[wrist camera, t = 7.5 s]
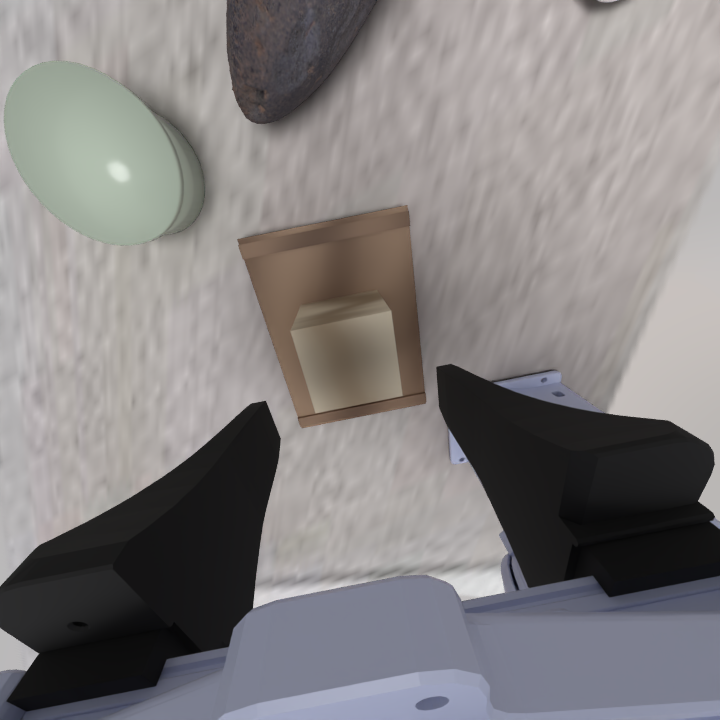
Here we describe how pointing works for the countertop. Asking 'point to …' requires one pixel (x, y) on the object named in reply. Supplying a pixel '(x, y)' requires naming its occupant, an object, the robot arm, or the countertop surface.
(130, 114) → the green lidded container
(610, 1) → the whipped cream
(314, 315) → the beech block
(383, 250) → the walnut board
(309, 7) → the perforated stone tool
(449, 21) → the countertop surface
